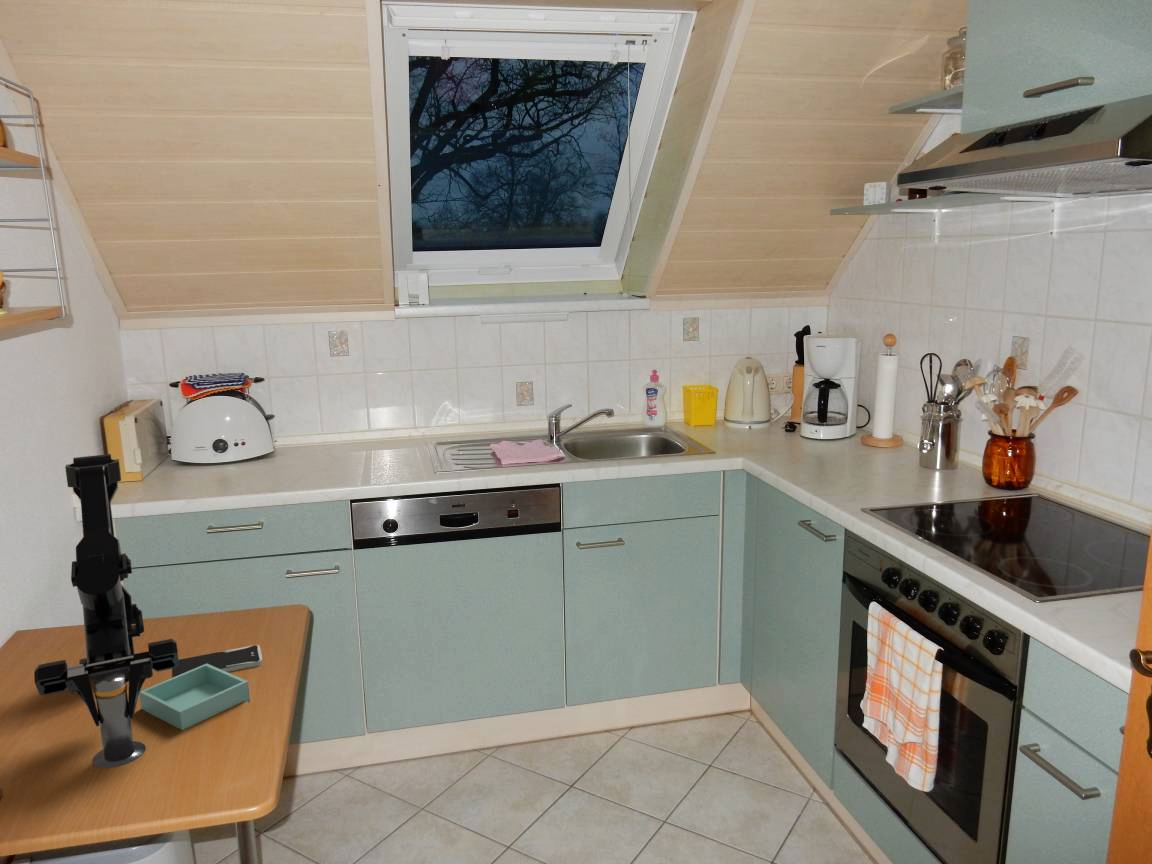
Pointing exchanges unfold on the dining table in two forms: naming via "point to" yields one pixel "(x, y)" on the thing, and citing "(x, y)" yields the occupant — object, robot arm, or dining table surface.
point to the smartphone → (223, 660)
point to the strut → (114, 716)
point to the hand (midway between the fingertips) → (114, 721)
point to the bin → (194, 696)
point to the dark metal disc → (102, 763)
